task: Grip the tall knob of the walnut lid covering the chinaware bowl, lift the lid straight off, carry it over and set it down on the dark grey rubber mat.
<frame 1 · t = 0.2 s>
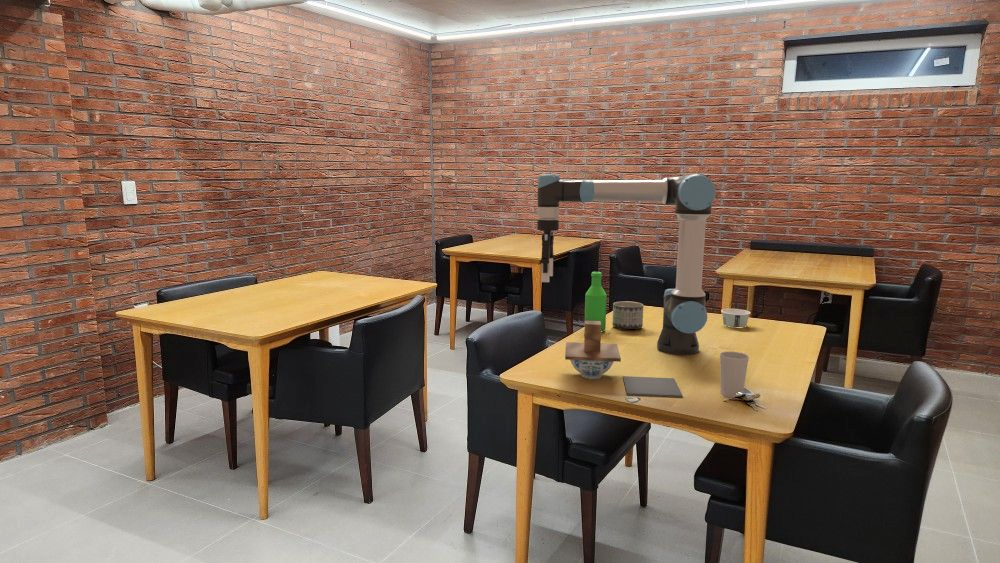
hand: (547, 279, 217), 28 cm above the table, fingers open, 13 cm apart
lid: (592, 352, 197), point 8 cm above the table, touching chinaware
mat: (651, 387, 187), on the table
chinaware: (591, 376, 198), on the table, touching lid
bottle: (594, 331, 258), on the table
cup: (731, 394, 182), on the table
food container: (734, 326, 267), on the table
planter: (627, 328, 263), on the table
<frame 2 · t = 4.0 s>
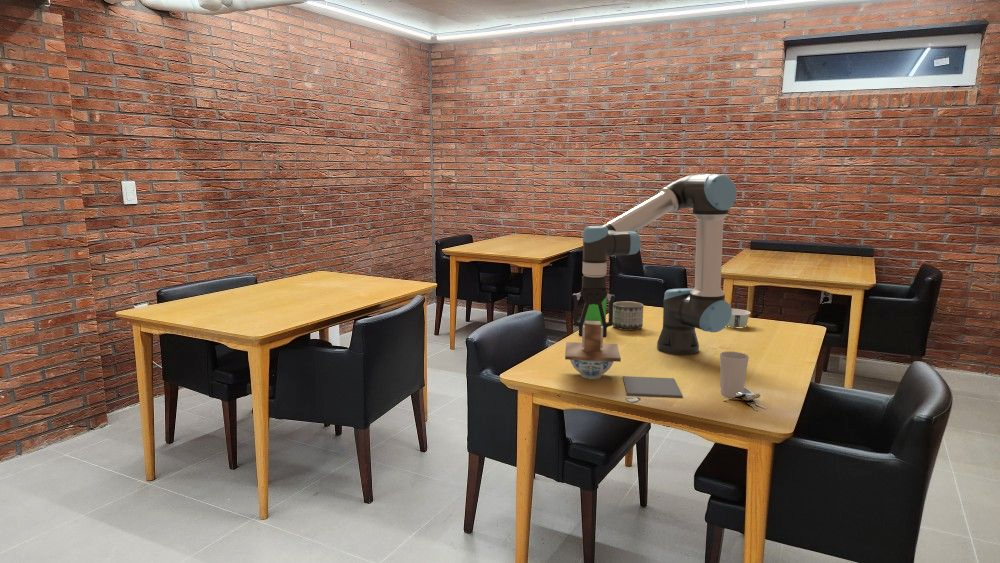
hand: (592, 346, 197), 10 cm above the table, fingers closed on lid, 5 cm apart
lid: (592, 352, 197), point 8 cm above the table, touching chinaware, gripper
everything else where it was.
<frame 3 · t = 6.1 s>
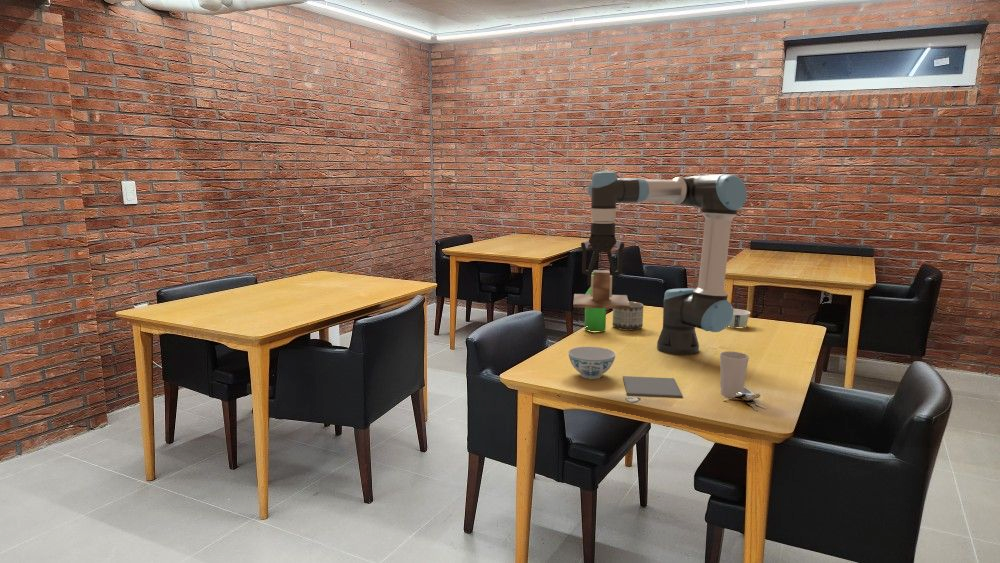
hand: (601, 296, 193), 27 cm above the table, fingers closed on lid, 5 cm apart
lid: (600, 302, 193), point 24 cm above the table, touching gripper
chinaware: (591, 376, 198), on the table
everything else where it was.
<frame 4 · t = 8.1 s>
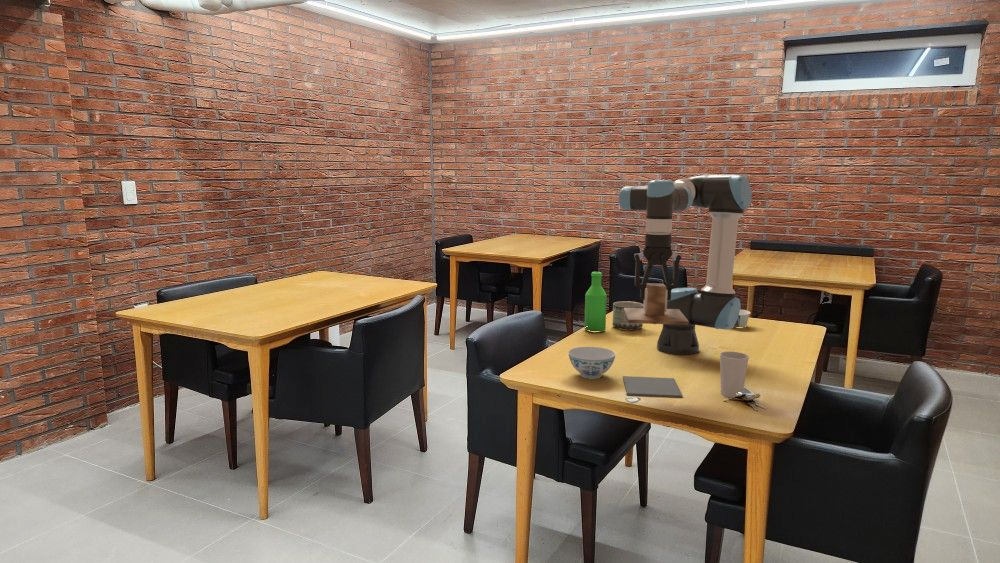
hand: (654, 310, 183), 24 cm above the table, fingers closed on lid, 5 cm apart
lid: (654, 317, 184), point 22 cm above the table, touching gripper
everything else where it was.
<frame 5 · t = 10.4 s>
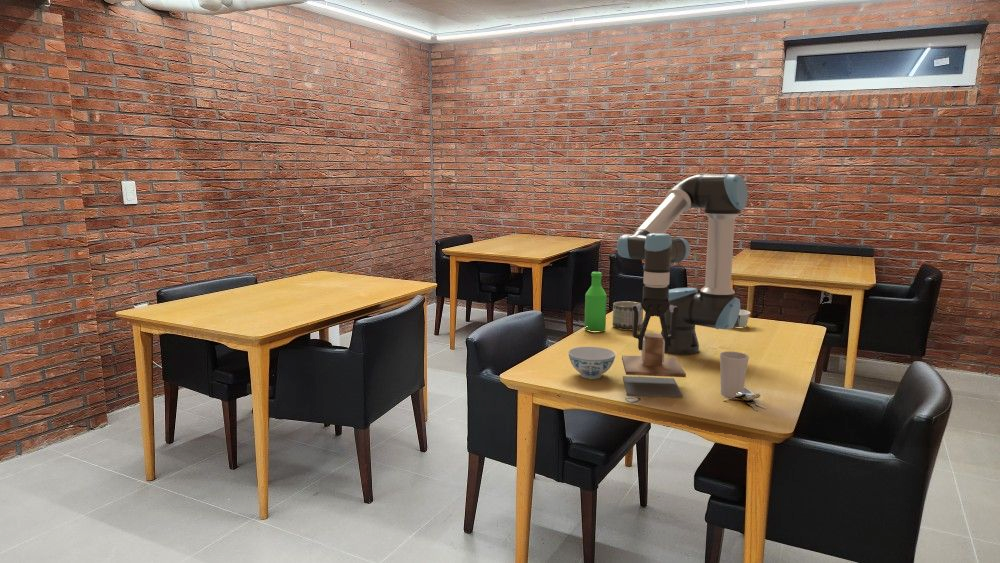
hand: (652, 360, 186), 9 cm above the table, fingers closed on lid, 5 cm apart
lid: (652, 367, 186), point 6 cm above the table, touching gripper
everything else where it was.
when the fingers open (4 cm above the table, at t = 12.3 s): lid stays where it is, resting on mat.
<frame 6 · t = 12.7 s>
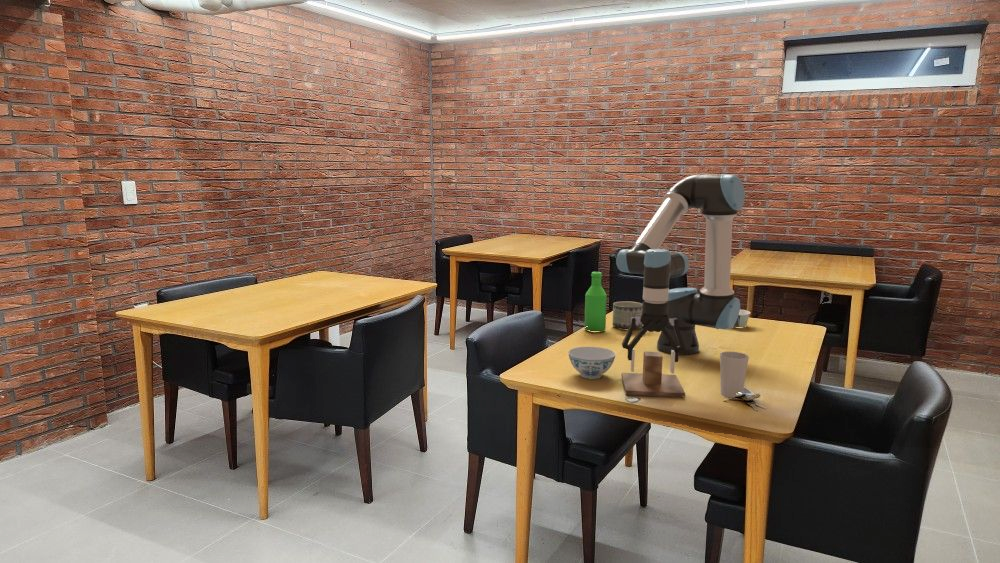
hand: (652, 371, 187), 5 cm above the table, fingers open, 11 cm apart
lid: (651, 385, 187), point 1 cm above the table, touching mat
everything else where it was.
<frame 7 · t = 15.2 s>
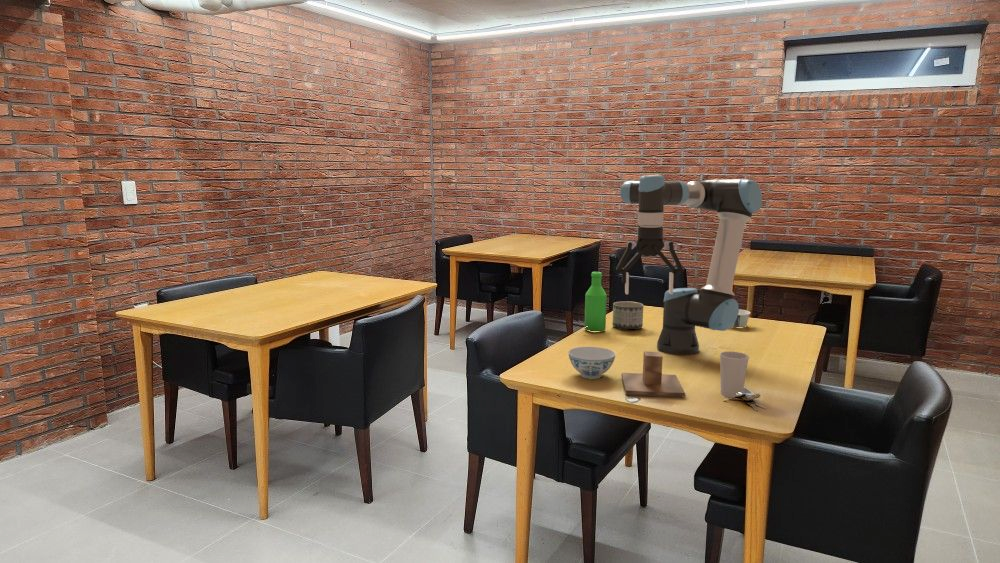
hand: (648, 293, 192), 27 cm above the table, fingers open, 13 cm apart
nothing on the table moved.
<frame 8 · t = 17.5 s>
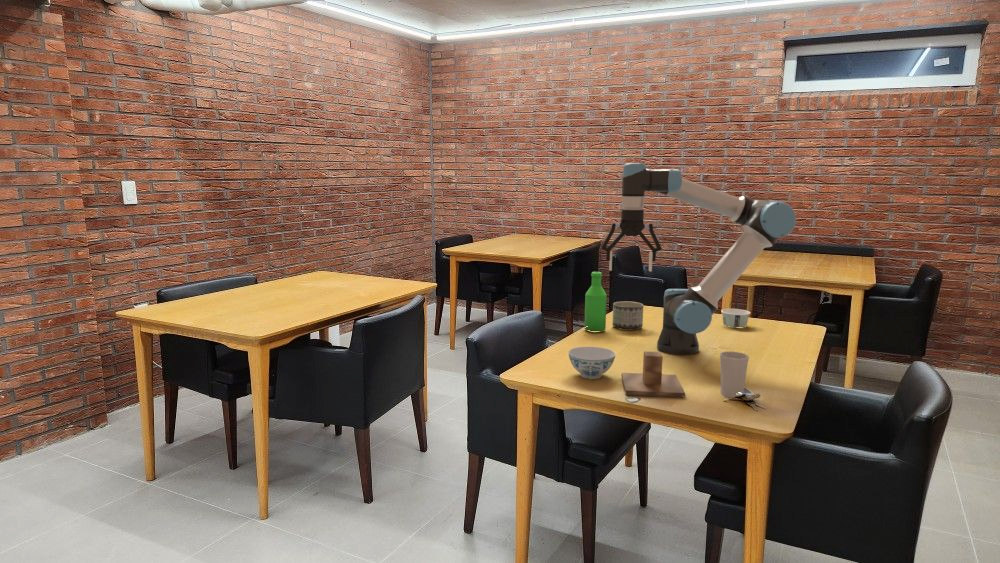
hand: (630, 270, 212), 32 cm above the table, fingers open, 13 cm apart
nothing on the table moved.
at the end: lid inside the target area on the mat (0.0 cm from its centre), point 0.6 cm above the mat's base; the gripper is holding nothing; chinaware moved 0.3 cm from its start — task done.
